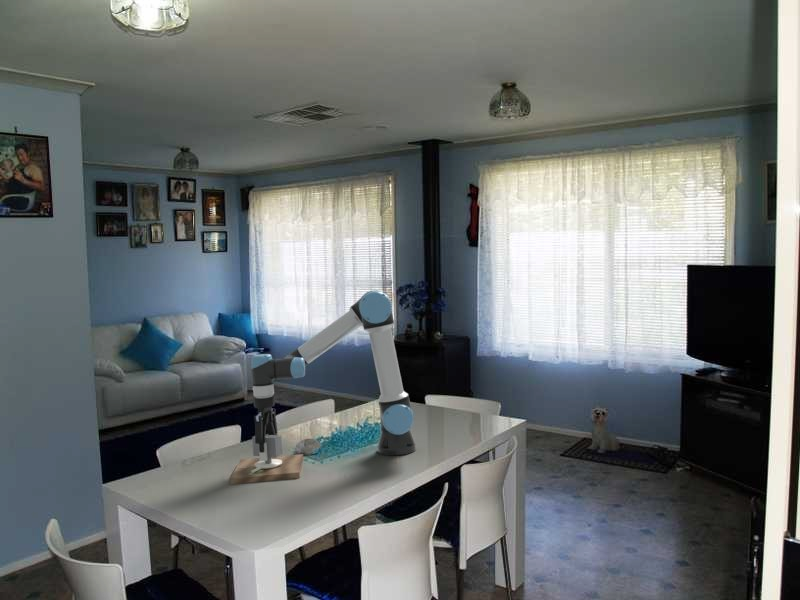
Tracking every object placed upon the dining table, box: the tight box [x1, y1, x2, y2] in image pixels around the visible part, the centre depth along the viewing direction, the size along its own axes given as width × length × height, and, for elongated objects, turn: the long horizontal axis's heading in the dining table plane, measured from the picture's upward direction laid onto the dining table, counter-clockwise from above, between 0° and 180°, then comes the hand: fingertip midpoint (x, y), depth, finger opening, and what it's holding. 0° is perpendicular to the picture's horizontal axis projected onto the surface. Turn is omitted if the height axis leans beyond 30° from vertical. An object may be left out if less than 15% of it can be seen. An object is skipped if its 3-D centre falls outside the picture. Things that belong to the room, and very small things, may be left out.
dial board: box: [229, 454, 304, 485], centre depth 235 cm, size 24×24×2 cm
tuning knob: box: [251, 434, 283, 473], centre depth 233 cm, size 15×10×11 cm, turn 158°
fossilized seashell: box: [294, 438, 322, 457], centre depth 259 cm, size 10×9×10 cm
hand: (268, 457), depth 235 cm, fingers open, 7 cm apart
